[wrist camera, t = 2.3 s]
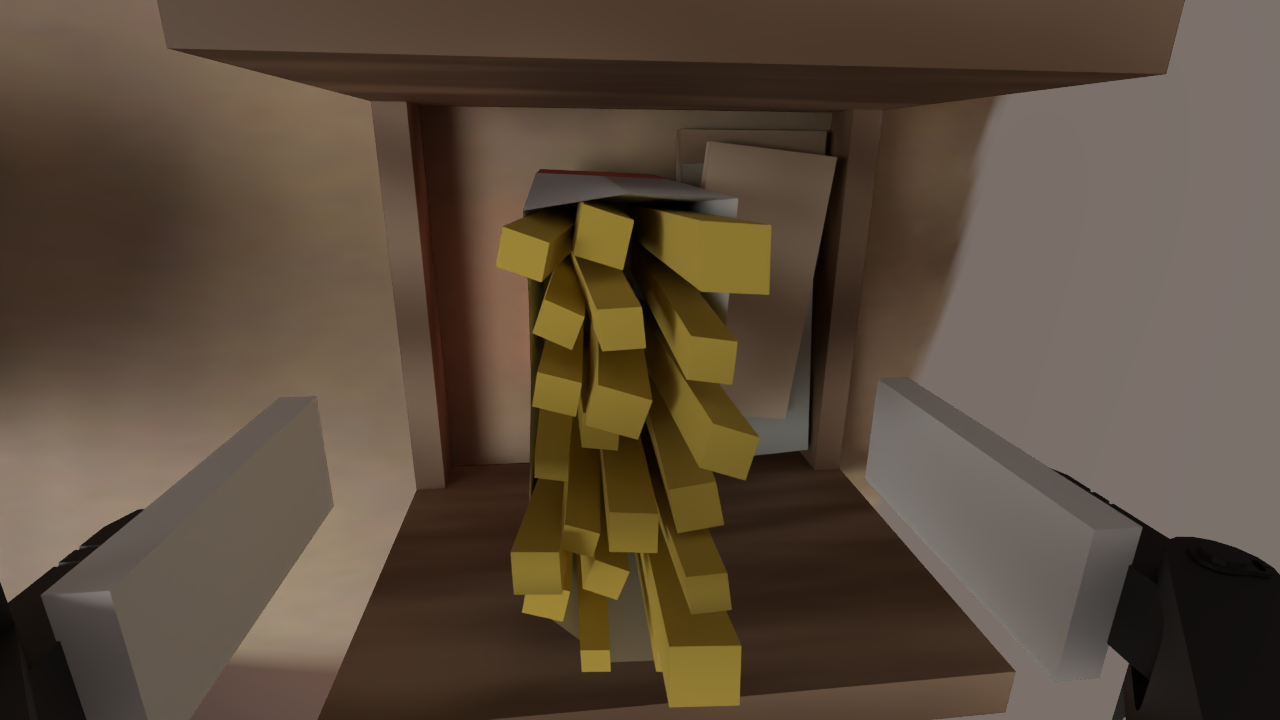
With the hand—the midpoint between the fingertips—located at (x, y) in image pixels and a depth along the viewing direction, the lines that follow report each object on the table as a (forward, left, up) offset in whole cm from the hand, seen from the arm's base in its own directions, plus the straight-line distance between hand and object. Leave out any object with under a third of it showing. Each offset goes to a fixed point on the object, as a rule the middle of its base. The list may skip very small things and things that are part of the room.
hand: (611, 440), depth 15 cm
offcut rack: (0, +2, -13) cm, 13 cm away
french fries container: (0, 0, -14) cm, 14 cm away
